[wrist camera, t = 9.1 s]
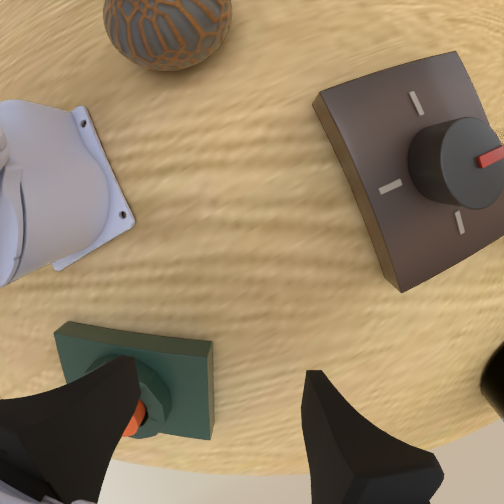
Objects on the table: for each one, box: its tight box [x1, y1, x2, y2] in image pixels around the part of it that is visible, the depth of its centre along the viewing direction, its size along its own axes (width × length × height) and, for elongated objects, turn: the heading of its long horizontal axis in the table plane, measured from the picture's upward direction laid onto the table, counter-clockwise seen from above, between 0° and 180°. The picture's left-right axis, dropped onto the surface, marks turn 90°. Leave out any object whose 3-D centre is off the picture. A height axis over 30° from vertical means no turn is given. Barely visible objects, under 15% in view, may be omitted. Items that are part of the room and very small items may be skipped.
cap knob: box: [409, 117, 504, 210], centre depth 13 cm, size 4×4×4 cm
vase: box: [103, 0, 232, 71], centre depth 12 cm, size 7×7×9 cm
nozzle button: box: [122, 399, 145, 437], centre depth 18 cm, size 4×4×2 cm
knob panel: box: [312, 51, 504, 293], centre depth 16 cm, size 12×10×3 cm
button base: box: [54, 321, 214, 440], centre depth 21 cm, size 12×8×4 cm, turn 87°
